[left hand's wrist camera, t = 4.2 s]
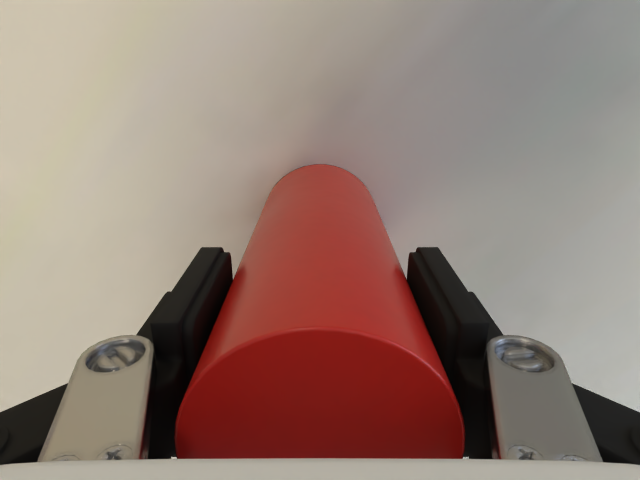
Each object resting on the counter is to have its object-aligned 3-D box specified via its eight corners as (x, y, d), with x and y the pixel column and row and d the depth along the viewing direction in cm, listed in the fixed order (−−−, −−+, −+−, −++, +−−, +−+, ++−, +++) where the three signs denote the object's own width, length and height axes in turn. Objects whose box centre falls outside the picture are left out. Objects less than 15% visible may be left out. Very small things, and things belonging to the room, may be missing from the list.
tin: (321, 290, 20) (323, 586, 8) (240, 221, 19) (114, 455, 7) (399, 218, 18) (526, 450, 7) (318, 139, 17) (314, 264, 6)
